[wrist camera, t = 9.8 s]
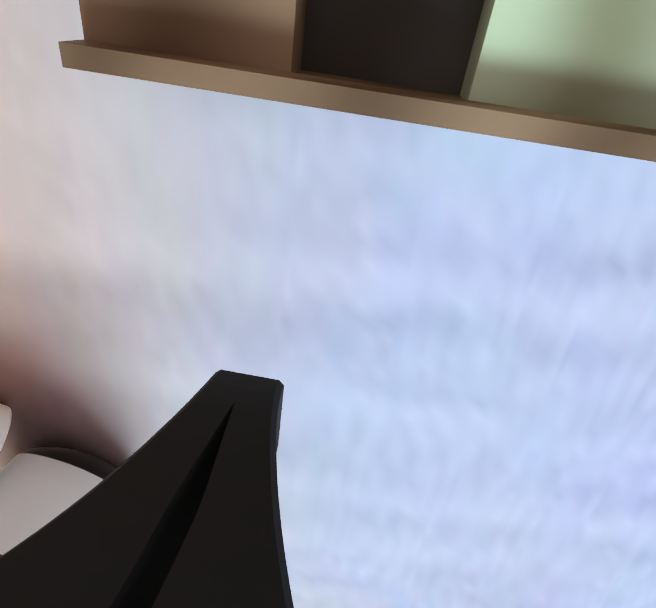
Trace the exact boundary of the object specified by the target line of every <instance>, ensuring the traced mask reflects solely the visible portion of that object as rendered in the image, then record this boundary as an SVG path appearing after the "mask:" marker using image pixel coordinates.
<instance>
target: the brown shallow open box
mask: <svg viewBox="0 0 656 608" xmlns="http://www.w3.org/2000/svg"><path fill="white" fill-rule="evenodd" d="M79 5H80V12H81V19H82V26H83V33H84V40H74V41H61V42H59V48H60V53H61V59H62V65H63V67H66V68H72V69H78V70H84V71H91V72H97V73H103V74H109V75H116V76H122V77H128V78H135V79H141V80H147V81H153V82H160V83H166V84H172V85H178V86H185V87H191V88H197V89H203V90H210V91H216V92H222V93H228V94H235V95H241V96H247V97H253V98H260V99H266V100H272V101H278V102H285V103H291V104H297V105H303V106H310V107H316V108H322V109H328V110H335V111H341V112H347V113H353V114H360V115H366V116H372V117H378V118H385V119H391V120H397V121H403V122H410V123H416V124H422V125H428V126H435V127H441V128H447V129H454V130H460V131H466V132H472V133H479V134H485V135H491V136H497V137H504V138H510V139H516V140H522V141H529V142H535V143H541V144H547V145H554V146H560V147H566V148H572V149H579V150H585V151H591V152H597V153H604V154H610V155H616V156H622V157H629V158H635V159H641V160H647V161H654V162H656V0H79Z"/></svg>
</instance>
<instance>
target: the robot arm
mask: <svg viewBox="0 0 656 608" xmlns="http://www.w3.org/2000/svg"><path fill="white" fill-rule="evenodd" d="M283 390H284V385H283V384H282V383H281V382H280V381H279V380H275V379H269V378H264V377H258V376H253V375H247V374H242V373H236V372H231V371H225V370H219V371H218V372H216V373H215V374H214V375H213V376H212V377H211V378H210V379H209V381H208V382H207V383H206V384H205V385H204V386H203V387H202V388H201V389H200V390H199V391H198V392H197V393H196V394H195V395H194V396H193V398H192V399H191V400H190V401H189V402H188V403H187V404H186V405H185V406H184V407H183V408H182V409H181V410H180V411H179V412H178V413H177V414H176V415H175V416H174V417H173V418H172V419H171V420H169V421H168V422H167V423H166V424H165V425H164V426H163V427H162V428H161V429H160V430H159V431H158V432H157V433H156V434H155V435H154V436H153V437H151V438H150V439H149V440H148V441H147V442H146V443H145V444H144V445H143V446H142V447H141V448H140V449H138V450H137V451H136V452H135V453H134V454H133V455H132V456H130V457H129V458H128V459H127V460H126V461H125V462H123V463H122V464H121V465H120V466H119V467H118V468H116V469H115V470H114V471H113V472H112V473H111V474H109V475H108V476H107V477H106V478H105V479H104V480H102V481H101V482H100V483H99V484H98V485H96V486H95V487H94V488H93V489H91V490H90V491H89V492H88V493H86V494H85V495H84V496H83V497H81V498H80V499H79V500H78V501H76V502H75V503H74V504H72V505H71V506H70V507H69V508H67V509H66V510H65V511H63V512H62V513H61V514H59V515H58V516H57V517H55V518H54V519H53V520H51V521H50V522H49V523H47V524H46V525H45V526H43V527H42V528H41V529H39V530H38V531H36V532H35V533H34V534H32V535H31V536H29V537H28V538H26V539H25V540H24V541H22V542H21V543H19V544H18V545H16V546H15V547H14V548H12V549H11V550H9V551H8V552H6V553H5V554H3V555H2V556H1V557H0V608H294V607H293V601H292V596H291V590H290V585H289V578H288V572H287V565H286V559H285V552H284V545H283V537H282V529H281V520H280V509H279V499H278V486H277V463H276V452H277V447H278V440H279V430H280V420H281V410H282V400H283Z"/></svg>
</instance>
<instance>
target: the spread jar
mask: <svg viewBox="0 0 656 608" xmlns="http://www.w3.org/2000/svg"><path fill="white" fill-rule="evenodd" d="M11 418H12V413H11V409H10V408H9V407H8V406H6V405H3V404H0V452H1V449H2V447H3V445H4V442H5V440H6V437H7V434H8V431H9V428H10V424H11ZM114 470H115V468H114V467H112V466H111V465H110V464H108V463H106V462H105V461H103V460H101V459H99V458H97V457H95V456H93V455H91V454H88V453H85V452H82V451H79V450H75V449H69V448H60V447H34V448H30V449H26V450H24V451H23V452H21V453H19V454H17V455H16V456H15V457H14V458H13V459H12V460H11V461H9V462H8V463H7V464H6V465H5V466H4V467H3V468H2V469H1V471H0V557H1V556H2V555H3V554H5V553H6V552H8V551H9V550H11V549H12V548H14V547H15V546H16V545H18V544H19V543H21V542H22V541H24V540H25V539H26V538H28V537H29V536H31V535H32V534H34V533H35V532H36V531H38V530H39V529H41V528H42V527H43V526H45V525H46V524H47V523H49V522H50V521H51V520H53V519H54V518H55V517H57V516H58V515H59V514H61V513H62V512H63V511H65V510H66V509H67V508H69V507H70V506H71V505H72V504H74V503H75V502H76V501H78V500H79V499H80V498H81V497H83V496H84V495H85V494H86V493H88V492H89V491H90V490H91V489H93V488H94V487H95V486H96V485H98V484H99V483H100V482H101V481H102V480H104V479H105V478H106V477H107V476H108V475H109V474H111V473H112V472H113V471H114Z"/></svg>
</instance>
